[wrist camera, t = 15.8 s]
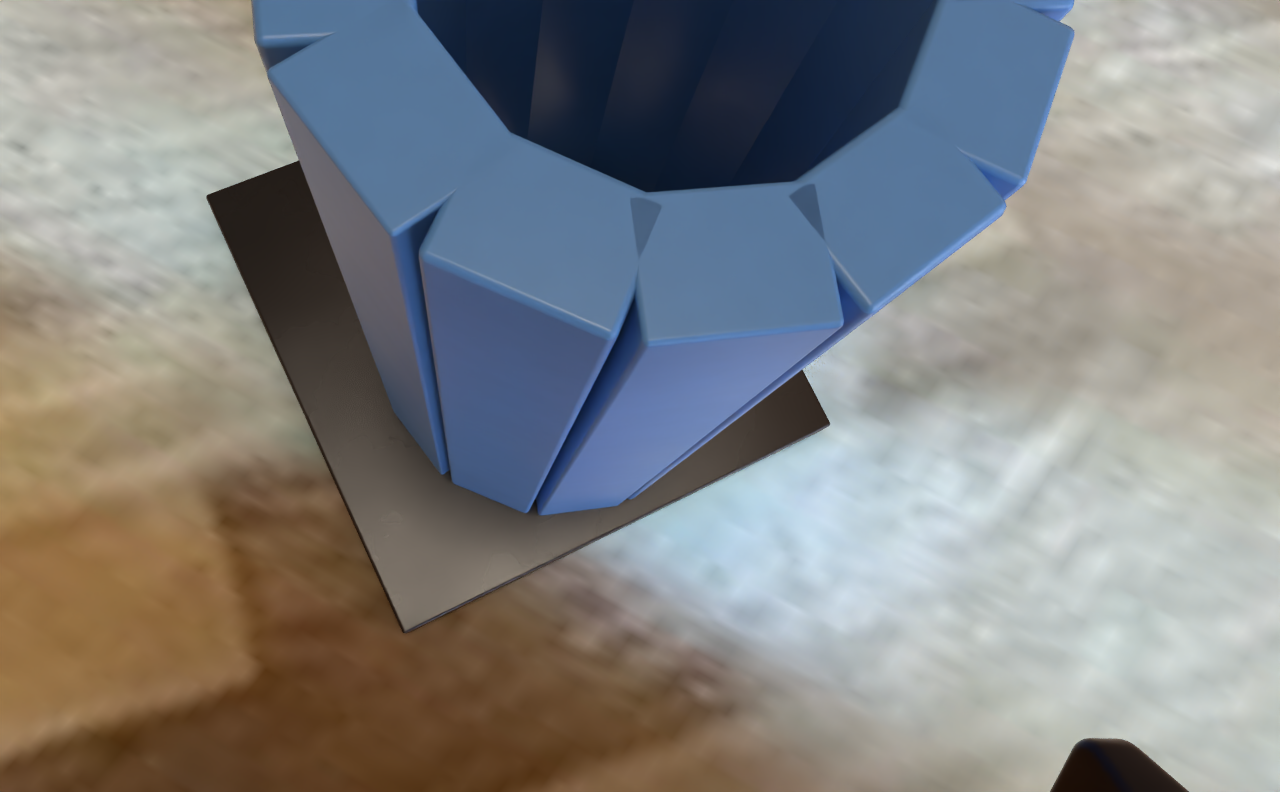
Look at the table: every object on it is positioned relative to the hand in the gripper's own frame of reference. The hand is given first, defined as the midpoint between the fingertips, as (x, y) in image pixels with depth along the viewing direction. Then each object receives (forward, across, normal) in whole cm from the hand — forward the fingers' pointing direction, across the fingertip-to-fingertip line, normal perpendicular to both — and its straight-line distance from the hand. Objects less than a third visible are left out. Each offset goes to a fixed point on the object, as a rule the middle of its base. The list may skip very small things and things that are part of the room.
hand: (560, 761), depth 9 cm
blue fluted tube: (+14, -1, +4) cm, 15 cm away
